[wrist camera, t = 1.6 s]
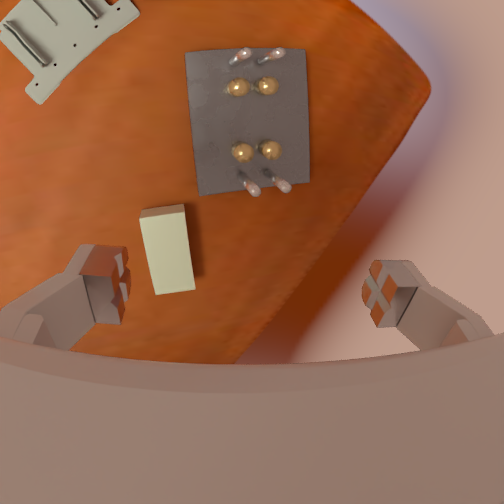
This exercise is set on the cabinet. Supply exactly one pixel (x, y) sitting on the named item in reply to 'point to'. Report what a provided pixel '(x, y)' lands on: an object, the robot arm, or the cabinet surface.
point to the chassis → (248, 118)
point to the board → (167, 248)
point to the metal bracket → (59, 36)
